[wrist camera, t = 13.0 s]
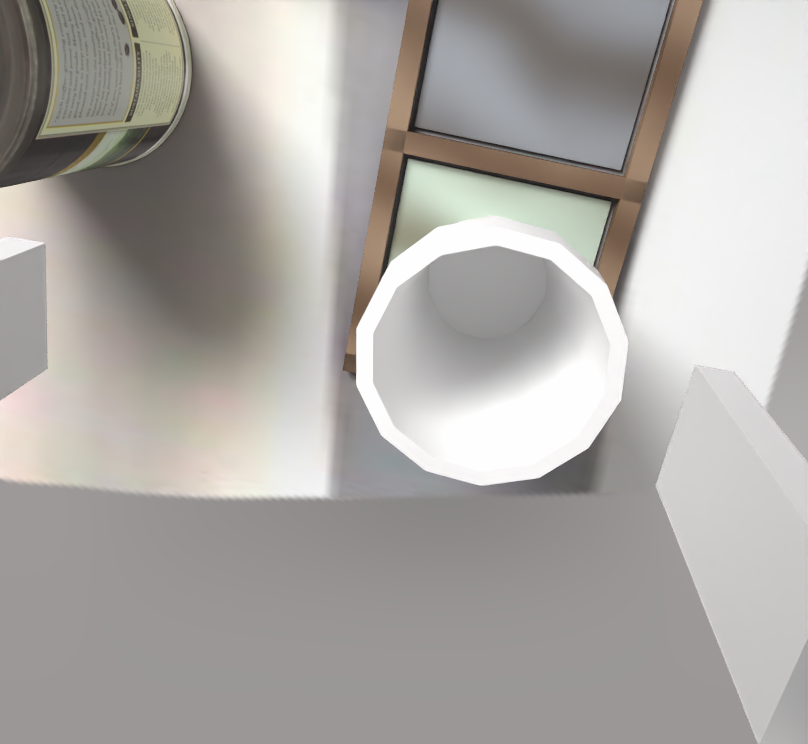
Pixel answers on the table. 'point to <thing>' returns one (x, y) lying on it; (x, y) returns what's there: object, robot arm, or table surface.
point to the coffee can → (88, 83)
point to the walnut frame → (525, 122)
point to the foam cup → (491, 352)
